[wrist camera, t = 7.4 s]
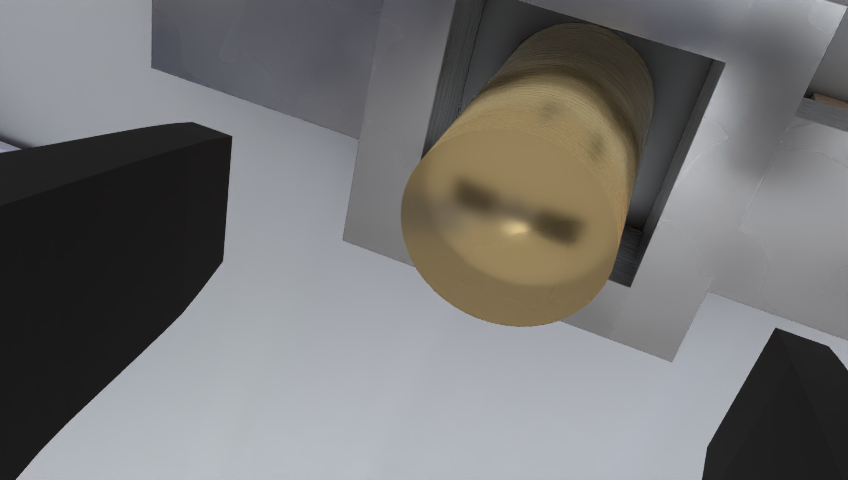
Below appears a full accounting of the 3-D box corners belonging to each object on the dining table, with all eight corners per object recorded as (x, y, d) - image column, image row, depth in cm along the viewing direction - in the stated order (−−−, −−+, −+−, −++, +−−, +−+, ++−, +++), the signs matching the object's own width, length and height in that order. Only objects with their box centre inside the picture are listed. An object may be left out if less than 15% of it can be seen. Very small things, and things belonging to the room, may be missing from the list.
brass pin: (483, 145, 17) (384, 282, 13) (520, 2, 16) (423, 98, 11) (623, 191, 17) (577, 356, 12) (678, 49, 15) (651, 172, 10)
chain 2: (383, 193, 19) (342, 240, 17) (447, -129, 15) (403, -118, 13) (939, 391, 17) (967, 472, 15) (1183, 72, 13) (1264, 123, 11)
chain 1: (180, 121, 20) (150, 138, 19) (190, -199, 16) (154, -199, 15) (678, 299, 18) (675, 328, 17) (831, -24, 14) (838, -10, 13)
